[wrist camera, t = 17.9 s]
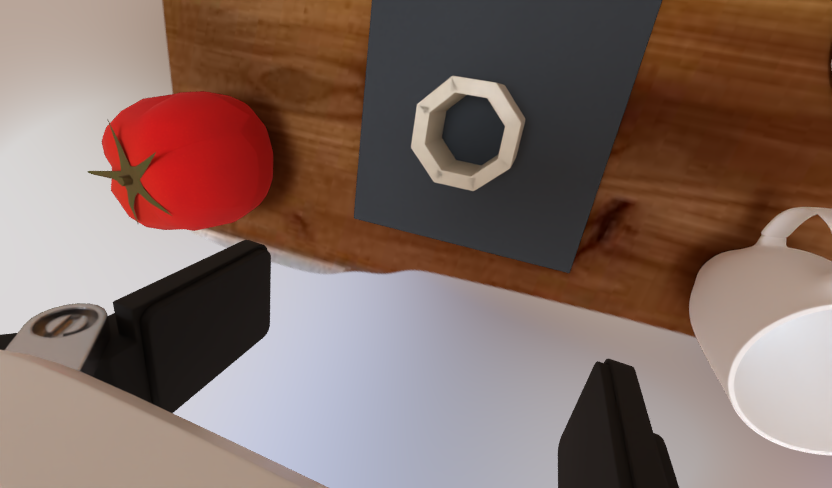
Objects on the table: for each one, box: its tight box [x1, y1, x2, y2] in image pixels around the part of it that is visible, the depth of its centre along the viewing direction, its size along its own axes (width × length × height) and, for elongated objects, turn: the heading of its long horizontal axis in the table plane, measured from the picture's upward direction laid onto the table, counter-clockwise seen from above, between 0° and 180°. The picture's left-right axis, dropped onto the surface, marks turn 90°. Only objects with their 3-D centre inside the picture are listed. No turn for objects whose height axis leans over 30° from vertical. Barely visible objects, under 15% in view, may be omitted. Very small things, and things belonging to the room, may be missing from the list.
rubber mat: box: [354, 0, 662, 273], centre depth 31 cm, size 20×20×1 cm
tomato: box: [88, 91, 273, 231], centre depth 33 cm, size 12×12×13 cm
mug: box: [689, 207, 832, 455], centre depth 23 cm, size 12×9×12 cm
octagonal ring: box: [411, 76, 525, 191], centre depth 29 cm, size 7×7×5 cm
